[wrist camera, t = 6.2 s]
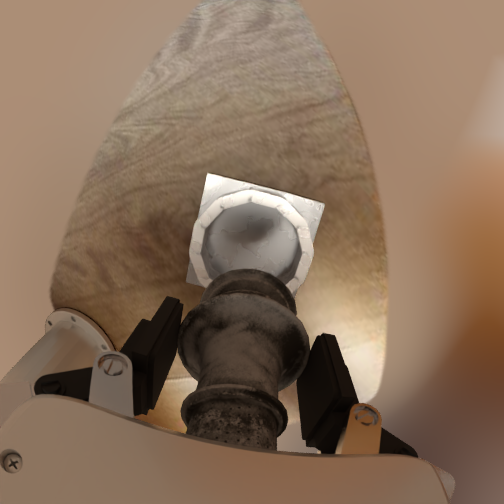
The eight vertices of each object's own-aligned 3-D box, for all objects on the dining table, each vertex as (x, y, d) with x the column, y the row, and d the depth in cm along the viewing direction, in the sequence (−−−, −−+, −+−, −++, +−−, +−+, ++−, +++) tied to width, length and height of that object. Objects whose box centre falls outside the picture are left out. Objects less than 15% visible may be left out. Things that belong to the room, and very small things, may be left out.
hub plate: (289, 302, 30) (293, 320, 26) (188, 277, 29) (179, 293, 26) (322, 202, 26) (331, 208, 23) (209, 172, 26) (201, 174, 22)
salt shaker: (174, 313, 15) (75, 505, 4) (241, 239, 14) (166, 490, 2) (252, 370, 16) (235, 560, 5) (324, 310, 15) (387, 530, 3)
